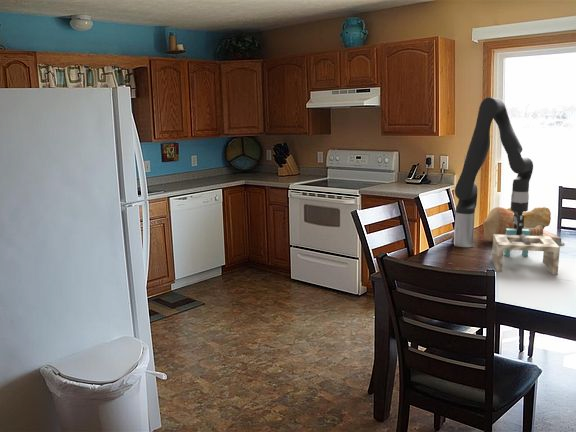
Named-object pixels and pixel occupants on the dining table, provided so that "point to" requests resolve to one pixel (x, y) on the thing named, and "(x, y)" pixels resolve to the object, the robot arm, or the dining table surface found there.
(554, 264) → the shelf
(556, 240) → the packaged product
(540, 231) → the orange-brown rounded sculpted piece
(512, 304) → the dining table surface
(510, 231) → the teal arch block
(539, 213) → the rough brown rock
